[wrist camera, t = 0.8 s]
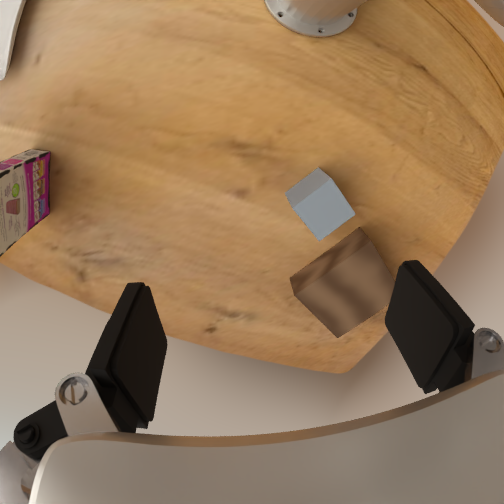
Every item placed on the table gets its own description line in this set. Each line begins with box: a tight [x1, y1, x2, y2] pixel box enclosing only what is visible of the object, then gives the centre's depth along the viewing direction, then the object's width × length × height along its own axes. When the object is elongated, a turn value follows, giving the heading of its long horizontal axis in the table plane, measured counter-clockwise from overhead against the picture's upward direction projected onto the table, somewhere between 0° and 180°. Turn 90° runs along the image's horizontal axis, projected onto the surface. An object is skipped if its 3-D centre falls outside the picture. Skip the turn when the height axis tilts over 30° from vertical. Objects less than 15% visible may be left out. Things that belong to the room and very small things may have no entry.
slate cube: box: [285, 167, 355, 241], centre depth 36 cm, size 6×6×6 cm
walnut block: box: [290, 227, 395, 338], centre depth 45 cm, size 14×14×5 cm
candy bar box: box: [0, 149, 50, 256], centre depth 27 cm, size 11×5×16 cm, turn 164°
